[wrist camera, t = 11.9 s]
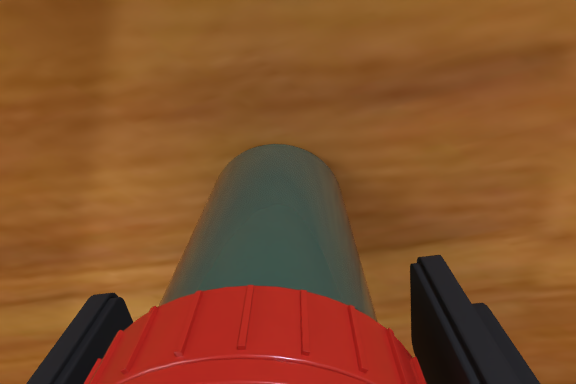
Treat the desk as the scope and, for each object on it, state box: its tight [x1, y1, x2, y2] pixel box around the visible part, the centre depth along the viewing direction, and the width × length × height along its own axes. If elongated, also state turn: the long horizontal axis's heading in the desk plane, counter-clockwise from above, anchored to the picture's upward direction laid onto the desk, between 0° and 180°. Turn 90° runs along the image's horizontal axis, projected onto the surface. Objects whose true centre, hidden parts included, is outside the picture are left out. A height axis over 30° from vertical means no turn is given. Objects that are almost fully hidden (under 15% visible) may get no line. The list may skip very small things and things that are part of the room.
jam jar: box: [159, 144, 378, 322], centre depth 12 cm, size 6×6×11 cm
